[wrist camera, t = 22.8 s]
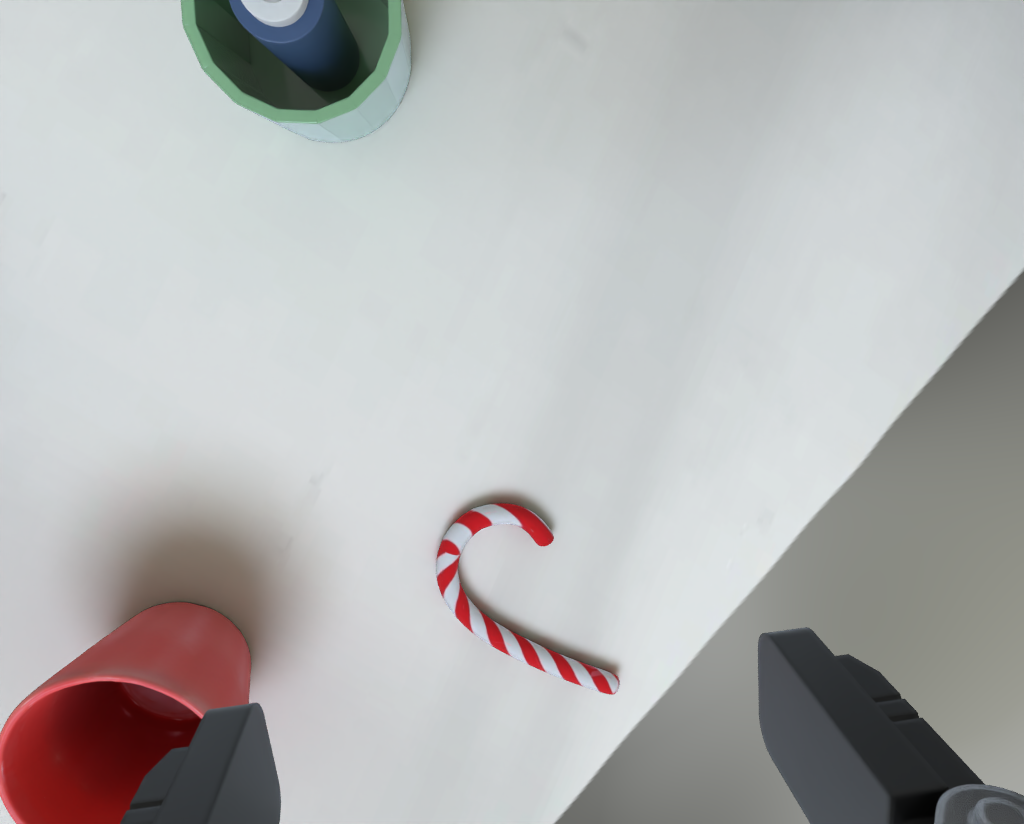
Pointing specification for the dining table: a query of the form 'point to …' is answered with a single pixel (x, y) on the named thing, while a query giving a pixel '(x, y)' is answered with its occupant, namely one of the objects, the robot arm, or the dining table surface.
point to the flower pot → (119, 714)
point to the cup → (287, 98)
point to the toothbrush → (304, 38)
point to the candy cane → (485, 625)
